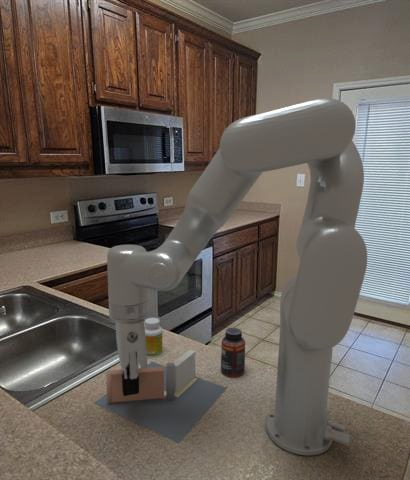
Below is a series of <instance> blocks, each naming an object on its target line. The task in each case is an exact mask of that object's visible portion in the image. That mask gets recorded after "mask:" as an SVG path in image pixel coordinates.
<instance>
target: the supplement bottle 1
mask: <svg viewBox="0 0 410 480" xmlns="http://www.w3.org/2000/svg"><path fill="white" fill-rule="evenodd" d="M160 321H161V320H160V318H157V317H147V318H145V319H144V325H145V335H146V353H147V358H155V357H159V356H160V355H162V354H163V328H162V327H161V326H160V325H161V324H160V323H161V322H160Z"/></svg>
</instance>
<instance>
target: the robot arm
mask: <svg viewBox="0 0 410 480" xmlns="http://www.w3.org/2000/svg"><path fill="white" fill-rule="evenodd" d="M356 125H357V124H356V119H355V115H354V113H353V110H352V109H351V108H350V107H349V106H348V105H347V104H346V103H344V102H343V101H341V100H339V99H336V98H331V97H322V98H316V99H311V100H307V101H304V102H299V103H297V104H292V105H289V106H285V107H284V106H283V107H281V108H277V109H273V110H270V111H269V110H268V111H266V112H260V113H256V114H252V115H248V116H245V117H242V118H239V119H237V120H234V121H233V122H232V123H230V124H229V125H228V126H227V128H225V130H224V131H223V132H222V135H221V137H220V140H219V141H220V142H219V148H218V150H217V151H216V152H215V154H214V155H213V157H212V159H211V160H210V162H209V163H208V164H207V166H206V167H205V169H204V171H203V172H202V174H201V175H200V176H199V178H198V179H197V180H196V182H195V184H194V185H193V187H192V188H191V189H190V191H189V193H188V195H187V197H186V201H185V206H184V209H183V212H182V214H181V215H180V218H179V220H178V221H177V223H176V225H175V226H174V227H173V228H172V230H171V231H170V233H169V235H168V236H167V238H166V239H165V240H164V242H163V243H162V244H161V245H160V246H159V247H157V248H156V249H153V250H150V251H147V250H146V248H145V247H144V246H141V245H137V244H120V245H115V246H112V247H111V248H109V250H108V251H107V255H106V261H107V263H106V265H107V289H108V290H107V291H108V293H107V295H108V317H109V319H110V320H111V321H113V322H115V339H116V349H117V355H118V359H119V363H120V368H121V370H123V373H124V374H122V391H123V395H124V396H128V395H133V394H138V393H139V374H138V368H139V367H140V368H142V369H143V368H144V369H145V368H146V367H147V365H148V357H147V353H146V335H145V320H146V319H147V318H148V316H149V290H154V291H159V292H167V291H170V290H172V289H174V288H176V287H178V285H179V283H181V281H182V280H183V278H184V277H185V275H186V274H187V273H188V271H189V270H190V268H191V267H192V266H193V264H194V262H196V260H197V258H198V257H199V255H200V254H201V253H202V251H203V250H204V249H205V247H206V246H207V244H208V243H209V241H210V240H212V238H213V236H214V235H215V234H216V233H217V232H218V231H219V230H220V229H221V228H222V227H224V226H225V224H226V223H227V222H228V221H229V219H230V218H231V217H232V215H233V213H234V212H235V211H236V210H237V208H238V207H239V205H240V203H241V202H242V200H244V198H245V196H246V195H247V194H248V193H249V191H250V190H251V189H252V187H253V186H254V184H255V183H256V182H257V181H258V179H259V177H260V176H261V175H262V173H264V172H266V173H267V172H271V171H276V170H281V169H284V168H285V169H286V168H290V167H291V168H292V167H294V166H295V167H296V166H299V165H303V164H307V166H308V168H309V172H310V182H309V189H308V195H307V200H306V205H305V209H304V213H303V217H302V221H301V225H300V228H299V232H298V235H297V238H296V245H295V246H296V247H295V248H296V251H297V255H298V257H299V258H300V260H299V265H298V268H297V269H298V270H297V274H294V275H293V276H291V277H290V278H289V279H288V280H287V281H286V282H285V284H284V285H283V287H282V290H281V294H280V301H279V302H280V303H279V307H280V308H279V309H280V310H279V343H278V355H277V356H278V358H277V370H276V371H277V375H276V389H275V402H274V403H275V404H274V409H272V411H270V412H269V413H268V414H267V417H266V421H265V429H266V433H267V434H268V437H269V438H270V439H271V440H272V442H274V444H276V445H277V446H278V447H280V448H281V449H284V450H286V451H287V452H289V453H292V454H295V455H300V456H317V455H320V454H323V453H324V452H326V451H327V450H329V449H330V447H331V446H332V444H333V441H334V442H336V443H338V444H341V445H342V446H345V447H349V446H350V442H351V441H350V440H351V435H350V434H349V433H346V432H345V431H346V425H344V424H341V423H337V422H334V421H333V420H332V419H330V416H331V415H330V414H331V411H329V410H328V409H327V408H328V401H329V399H328V398H329V389H330V379H331V367H332V359H333V348H334V347H336V346H337V345H339V343H341V342H342V341H343V339H344V338H345V337H346V335H347V334H348V331H349V330H350V327H351V325H352V322H353V321H352V320H353V318H354V314H355V311H356V308H357V304H358V301H359V297H360V293H361V291H362V286H363V283H364V281H365V276H366V271H367V265H368V249H367V244H366V242H365V240H364V238H363V236H362V235H361V234H360V232H358V230H357V229H355V228H356V222H357V217H358V213H359V209H360V206H361V205H360V204H361V199H362V195H363V191H364V190H363V189H364V181H365V173H364V171H365V170H364V165H363V160H362V157H361V155H360V152H359V150H358V148H357V147H356V146H357V145H356V144H355V142H354V141H353V139H354V136H355V133H356V128H357V126H356Z"/></svg>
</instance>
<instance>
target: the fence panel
mask: <svg viewBox="0 0 410 480" xmlns="http://www.w3.org/2000/svg"><path fill="white" fill-rule="evenodd" d="M122 374H124V373H123V370H122V369H112V370H107V371H106V372H105V378H106V394H107V402H108V403H111V402H121V401H133V400H145V399H156V398H164V367H151V368H145V369H144V368H143V369H142V368H141V367H138V374H139V393H138V394H133V395H128V396H124V395H123V391H122Z"/></svg>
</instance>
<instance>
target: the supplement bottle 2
mask: <svg viewBox="0 0 410 480" xmlns="http://www.w3.org/2000/svg"><path fill="white" fill-rule="evenodd" d="M220 348H221V349H220V350H221V351H220V355H221V356H220V372H221V374H222V375H223V376H225V377H227V378H231V379H237V378H240V377H242V376H243V375H244V374H245V369H246V368H245V365H246V363H245V362H246V341H245V339H244V338H243V335H242V329H241V328H239V327H238V328H237V327H228V328H226V330H225V335H224V337H222V339H221V347H220Z"/></svg>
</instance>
